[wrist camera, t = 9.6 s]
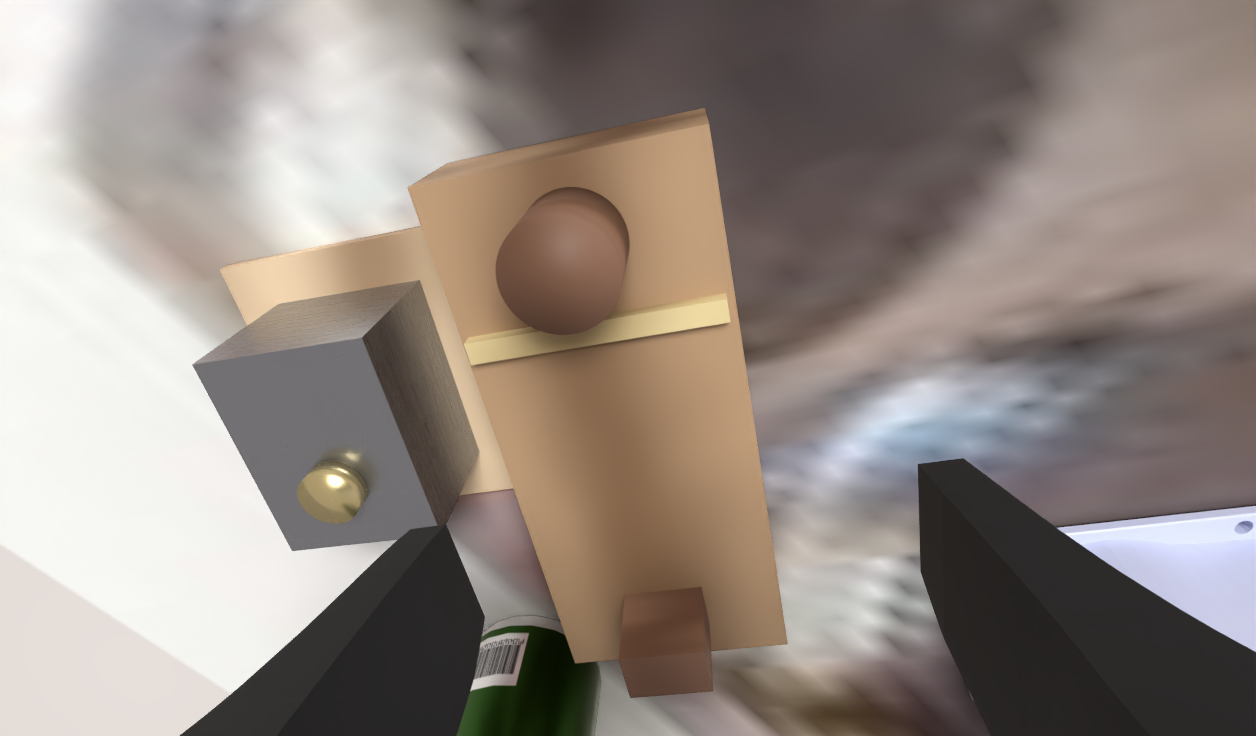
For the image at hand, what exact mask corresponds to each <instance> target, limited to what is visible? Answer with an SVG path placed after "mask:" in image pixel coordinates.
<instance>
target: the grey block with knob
mask: <svg viewBox="0 0 1256 736" xmlns="http://www.w3.org/2000/svg"><path fill="white" fill-rule="evenodd" d="M193 367H194V369H195V371H196V372H197V374H198V376H199V378H200V380H201V382H202V384H203V385H204V387H205V389H206V391H207V393H208V395H209V397H210V399H211V400H212V402H213V404H214V406H215V408H216V410H217V412H218V413H219V415H220V417H221V419H222V421H223V423H224V425H225V426H226V428H227V430H228V432H229V434H230V436H231V438H232V440H233V441H234V443H235V445H236V447H237V449H238V451H239V453H240V454H241V456H242V458H243V460H244V462H245V464H246V466H247V468H248V469H249V471H250V473H251V475H252V477H253V479H254V481H255V482H256V484H257V486H258V488H259V490H260V492H261V494H262V495H263V497H264V499H265V501H266V503H267V505H268V507H269V509H270V510H271V512H272V514H273V516H274V518H275V520H276V522H277V523H278V525H279V527H280V529H281V531H282V533H283V535H284V536H285V538H286V540H287V542H288V544H289V546H290V548H291V550H292V551H297V550H306V549H315V548H324V547H333V546H342V545H351V544H360V543H370V542H379V541H388V540H397V539H399V538H401V537H402V536H403V535H404V534H405V533H407V532H408V531H409V530H410V529H415V528H422V527H430V526H438V525H446V523H447V521H448V519H449V517H450V515H451V512H452V510H453V508H454V506H455V504H456V502H457V500H458V497H459V495H460V493H461V491H462V489H463V487H464V484H465V482H466V480H467V478H468V476H469V474H470V471H471V469H472V467H473V465H474V463H475V461H476V459H477V456H478V454H479V449H478V446H477V443H476V440H475V437H474V434H473V432H472V429H471V426H470V423H469V420H468V417H467V414H466V411H465V409H464V406H463V403H462V400H461V397H460V394H459V391H458V388H457V386H456V383H455V380H454V377H453V374H452V371H451V368H450V365H449V363H448V360H447V357H446V354H445V351H444V348H443V345H442V342H441V340H440V337H439V334H438V331H437V328H436V325H435V322H434V319H433V316H432V314H431V311H430V308H429V305H428V302H427V299H426V296H425V293H424V291H423V288H422V285H421V282H420V280H416V281H410V282H404V283H398V284H393V285H387V286H381V287H375V288H369V289H363V290H357V291H351V292H346V293H340V294H334V295H328V296H322V297H316V298H310V299H304V300H298V301H293V302H287V303H281V304H278V305H276V306H275V307H273V308H272V309H270V310H269V311H268V312H266V313H265V314H263V315H262V316H261V317H259V318H258V319H256V320H255V321H253V322H252V323H251V324H249V325H248V326H246V327H245V328H244V329H242V330H241V331H239V332H238V333H236V334H235V335H234V336H232V337H231V338H229V339H228V340H227V341H225V342H224V343H222V344H221V345H219V346H218V347H217V348H215V349H214V350H212V351H211V352H210V353H208V354H207V355H205V356H204V357H202V358H201V359H200V360H198V361H197V362H195V363H194V364H193Z"/></svg>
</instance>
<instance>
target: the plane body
mask: <svg viewBox="0 0 1256 736" xmlns="http://www.w3.org/2000/svg"><path fill="white" fill-rule="evenodd" d="M408 190H409V193H410V196H411V199H412V202H413V205H414V207H415V210H416V213H417V216H418V219H419V222H420V224H421V227H422V230H423V233H424V236H425V239H426V241H427V244H428V247H429V250H430V253H431V256H432V258H433V261H434V264H435V267H436V270H437V273H438V276H439V278H440V281H441V284H442V287H443V290H444V293H445V295H446V298H447V301H448V304H449V307H450V310H451V312H452V315H453V318H454V321H455V324H456V327H457V329H458V332H459V335H460V338H461V341H462V344H463V346H464V349H465V352H466V355H467V358H468V361H469V363H470V366H471V369H472V372H473V375H474V378H475V380H476V383H477V386H478V389H479V392H480V395H481V397H482V400H483V403H484V406H485V409H486V412H487V415H488V417H489V420H490V423H491V426H492V429H493V432H494V434H495V437H496V440H497V443H498V446H499V449H500V451H501V454H502V457H503V460H504V463H505V466H506V468H507V471H508V474H509V477H510V480H511V483H512V485H513V488H514V491H515V494H516V497H517V500H518V502H519V505H520V508H521V511H522V514H523V517H524V519H525V522H526V525H527V528H528V531H529V534H530V537H531V539H532V542H533V545H534V548H535V551H536V554H537V556H538V559H539V562H540V565H541V568H542V571H543V573H544V576H545V579H546V582H547V585H548V588H549V590H550V593H551V596H552V599H553V602H554V605H555V607H556V610H557V613H558V616H559V619H560V622H561V624H562V627H563V630H564V633H565V636H566V639H567V641H568V644H569V647H570V650H571V653H572V656H573V659H574V661H575V663H585V662H596V661H607V660H618V659H619V663H620V666H621V669H622V672H623V676H624V679H625V682H626V685H627V689H628V692H629V695H630V698H636V697H648V696H661V695H673V694H685V693H697V692H710V691H713V681H712V661H711V651H717V650H728V649H739V648H750V647H761V646H772V645H783V644H787V637H786V631H785V624H784V617H783V611H782V604H781V598H780V591H779V584H778V578H777V571H776V564H775V558H774V551H773V545H772V538H771V531H770V525H769V518H768V511H767V505H766V498H765V491H764V485H763V478H762V472H761V465H760V458H759V452H758V445H757V438H756V432H755V425H754V419H753V412H752V405H751V399H750V392H749V385H748V379H747V372H746V365H745V359H744V352H743V346H742V339H741V332H740V326H739V319H738V312H737V306H736V299H735V293H734V286H733V279H732V273H731V266H730V259H729V253H728V246H727V240H726V233H725V226H724V220H723V213H722V206H721V200H720V193H719V186H718V180H717V173H716V167H715V160H714V153H713V147H712V140H711V133H710V127H709V122H708V118H707V115H706V111H705V108H701V109H696V110H692V111H687V112H683V113H678V114H673V115H669V116H664V117H659V118H655V119H650V120H646V121H641V122H636V123H632V124H627V125H622V126H618V127H613V128H609V129H604V130H599V131H595V132H590V133H585V134H581V135H576V136H571V137H567V138H562V139H558V140H553V141H548V142H544V143H539V144H534V145H530V146H525V147H521V148H516V149H511V150H507V151H502V152H497V153H493V154H488V155H484V156H479V157H474V158H470V159H465V160H460V161H456V162H451V163H447V164H445V165H444V166H442V167H440V168H439V169H437V170H436V171H434V172H432V173H431V174H429V175H427V176H426V177H424V178H422V179H421V180H419V181H418V182H416V183H414V184H413V185H411V186H409V187H408Z"/></svg>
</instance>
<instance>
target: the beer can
mask: <svg viewBox="0 0 1256 736" xmlns="http://www.w3.org/2000/svg"><path fill="white" fill-rule="evenodd" d="M600 688H601V676H600V670H599V665H598V663H597V661H596V662H585V663H575V661H574V659H573V656H572V653H571V650H570V647H569V644H568V641H567V639H566V636H565V633H564V630H563V627H562V624H561V622H559V621H557V620H554V619H550V618H545V617H540V616H515V617H511V618H508V619H504V620H500V621H499V622H497V623H496V624H494V625H493V626H491V627H489V628H488V629H487V630H486V631H485V632H484V633H483V634H482V638H481V644H480V650H479V655H478V660H477V665H476V670H475V675H474V680H473V684H472V687H471V690H470V694H469V697H468V700H467V704H466V707H465V710H464V713H463V717H462V720H461V723H460V726H459V729H458V733H457V736H595V730H596V722H597V713H598V705H599V697H600Z"/></svg>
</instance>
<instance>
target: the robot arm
mask: <svg viewBox="0 0 1256 736" xmlns="http://www.w3.org/2000/svg"><path fill="white" fill-rule="evenodd" d="M918 485H919V523H920V561H921V574H922V577H923V580H924V583H925V586H926V589H927V592H928V595H929V597H930V600H931V603H932V606H933V609H934V612H935V615H936V618H937V620H938V623H939V626H940V629H941V631H942V634H943V637H944V639H945V642H946V644H947V646H948V648H949V650H950V652H951V654H952V656H953V658H954V661H955V663H956V665H957V667H958V669H959V671H960V673H961V675H962V677H963V679H964V681H965V683H966V685H967V688H968V690H969V693H970V695H971V698H972V699H973V700H974V702H975V704H976V706H977V708H978V710H979V712H980V714H981V716H982V718H983V720H984V722H985V724H986V727H987V729H988V731H989V733H990V735H991V736H1256V506H1250V507H1241V508H1232V509H1223V510H1214V511H1205V512H1196V513H1186V514H1177V515H1168V516H1159V517H1150V518H1141V519H1132V520H1123V521H1114V522H1105V523H1096V524H1087V525H1078V526H1069V527H1060V528H1056V527H1055V526H1053V525H1052V524H1051V523H1049V522H1048V521H1047V520H1045V519H1044V518H1042V517H1041V516H1040V515H1038V514H1037V513H1036V512H1034V511H1033V510H1032V509H1030V508H1029V507H1027V506H1026V505H1025V504H1023V503H1022V502H1021V501H1019V500H1018V499H1017V498H1015V497H1014V496H1013V495H1011V494H1010V493H1009V492H1007V491H1006V490H1005V489H1003V488H1002V487H1001V486H999V485H998V484H997V483H995V482H994V481H993V480H991V479H990V478H989V477H987V476H986V475H985V474H983V473H982V472H981V471H979V470H978V469H977V468H975V467H974V466H973V465H971V464H970V463H969V462H967V461H966V460H965V459H963V458H962V459H955V460H947V461H939V462H931V463H923V464H918ZM1240 522H1241V523H1240ZM484 619H485V616H484V614H483V612H482V609H481V607H480V604H479V602H478V600H477V597H476V595H475V592H474V590H473V588H472V585H471V583H470V581H469V578H468V576H467V573H466V571H465V569H464V566H463V564H462V561H461V559H460V557H459V554H458V552H457V550H456V547H455V545H454V542H453V540H452V538H451V535H450V533H449V530H448V528H447V526H446V525H438V526H430V527H422V528H415V529H410V530H409V531H408V532H407V533H405V534H404V535H403V536H402V537H401V538H399V539H398V540H397V541H396V542H395V543H394V544H393V545H392V546H391V547H390V548H388V549H387V550H386V551H385V552H384V553H383V554H382V555H381V556H380V557H379V558H378V559H377V560H376V561H375V562H374V563H373V564H372V565H371V566H370V567H368V568H367V569H366V570H365V571H364V572H363V573H362V574H361V575H360V576H359V577H358V578H357V579H356V580H355V581H354V582H353V583H352V584H351V585H350V586H349V587H348V588H347V589H346V590H345V591H344V592H343V593H342V594H340V595H339V596H338V597H337V598H336V599H335V600H334V601H333V602H332V603H331V604H330V605H329V606H328V607H327V608H326V609H325V610H324V611H323V612H322V613H321V614H320V615H319V616H317V617H316V618H315V619H314V620H313V621H312V622H311V623H310V624H309V625H308V626H307V627H306V628H305V629H304V630H303V631H302V632H301V633H299V634H298V635H297V636H296V637H295V638H294V639H293V640H292V641H291V642H289V643H288V644H287V645H286V646H285V647H284V648H283V649H282V650H280V651H279V652H278V653H277V654H276V655H275V656H274V657H273V658H272V659H270V660H269V661H268V662H267V663H266V664H265V665H264V666H263V667H262V668H260V669H259V670H258V671H257V672H256V673H255V674H254V675H253V676H251V677H250V678H249V679H248V680H247V681H246V682H245V683H244V684H243V685H241V686H240V687H239V688H238V689H237V690H236V691H234V692H233V693H232V694H231V695H230V696H228V697H227V698H226V699H225V700H224V701H222V702H221V703H220V704H219V705H218V706H216V707H215V708H214V709H213V710H211V711H210V712H209V713H208V714H207V715H205V716H204V717H203V718H202V719H200V720H199V721H198V722H197V723H195V724H194V725H193V726H191V727H190V728H189V729H188V730H186V731H185V732H184V733H183V734H181V735H180V736H457V733H458V729H459V726H460V723H461V720H462V717H463V713H464V710H465V707H466V704H467V700H468V697H469V694H470V690H471V687H472V684H473V680H474V675H475V670H476V665H477V660H478V655H479V650H480V644H481V638H482V631H483V625H484Z"/></svg>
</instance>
